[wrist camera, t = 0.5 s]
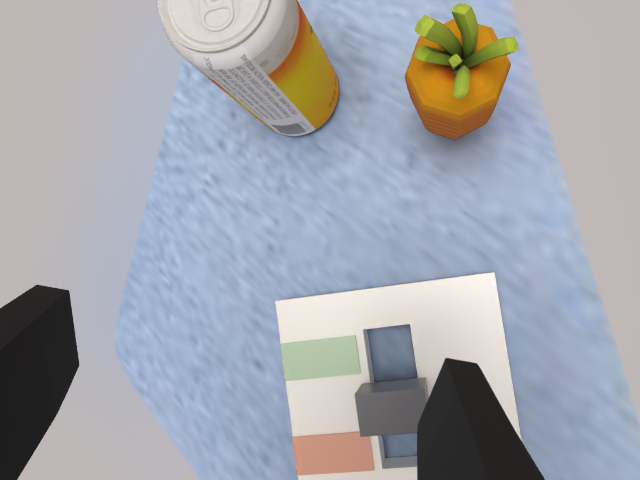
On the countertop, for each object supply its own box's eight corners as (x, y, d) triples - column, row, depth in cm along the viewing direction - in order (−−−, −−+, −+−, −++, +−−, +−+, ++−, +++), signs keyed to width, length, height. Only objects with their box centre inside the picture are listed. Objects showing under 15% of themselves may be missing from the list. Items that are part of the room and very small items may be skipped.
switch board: (521, 461, 34) (527, 475, 32) (306, 475, 37) (298, 488, 35) (491, 271, 35) (494, 272, 33) (283, 299, 38) (274, 301, 36)
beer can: (334, 44, 38) (268, -94, 23) (347, 129, 38) (289, 41, 23) (252, 64, 39) (141, -56, 25) (263, 146, 39) (158, 73, 24)
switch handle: (432, 409, 35) (431, 431, 30) (370, 414, 36) (360, 437, 31) (426, 371, 35) (424, 388, 30) (365, 377, 36) (354, 394, 31)
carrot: (507, 119, 35) (556, 15, 21) (454, 176, 36) (465, 115, 21) (449, 71, 36) (456, -60, 22) (398, 128, 37) (372, 37, 22)
